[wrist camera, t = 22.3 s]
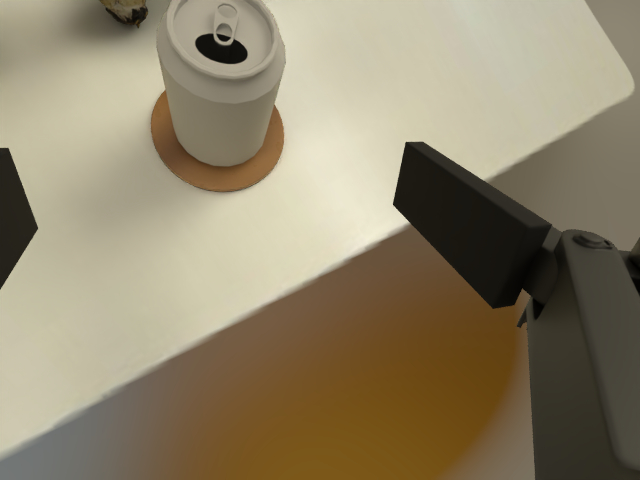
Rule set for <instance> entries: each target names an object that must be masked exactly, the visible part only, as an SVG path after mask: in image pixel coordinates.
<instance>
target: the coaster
mask: <svg viewBox="0 0 640 480" xmlns="http://www.w3.org/2000/svg"><path fill="white" fill-rule="evenodd" d="M151 133H152V138H153V142H154V145H155V147H156V150H157V152H158V154H159V156H160V158H161V159H162V161H163V162H164V163H165V165H166V166H167V167H168V168H169V169H170V170H171V171H172V172H173V173H174V174H175V175H177V176H178V177H179V178H181V179H182V180H184V181H185V182H187V183H189V184H191V185H193V186H196V187H199V188H202V189H206V190H210V191H219V192H226V191H236V190H240V189H244V188H247V187H249V186H252V185H254V184H256V183H257V182H259V181H261V180H262V179H263V178H264V177H266V176H267V175H268V174H269V173H270V172H271V171H272V169H273V168H274V166H275V165H276V163H277V161H278V159H279V158H280V155H281V152H282V149H283V143H284V128H283V123H282V119H281V117H280V114H279V112H278V110H277V108H276V106H275V105H274V107H273V110H272V114H271V117H270V121H269V125H268V128H267V132H266V135H265V139H264V142H263V145H262V147H261V148H260V149H259V150H258V152H257V153H256V154H255V156H253V157H252V158H250V159H249V160H247V161H245V162H244V163H241V164H237V165H233V166H229V167H228V166H213V165H210V164H207V163H204V162H201V161H199V160H198V159H196V158H195V157H193V156H192V155H190V154H189V153H187V151H186V150H185V149H184V147H183V146H182V145H181V144H180V142H179V141H178V139H177V136H176V133H175V130H174V127H173V123H172V118H171V113H170V108H169V103H168V99H167V94H166V90H165V91H164V92H163V93H162V94H161V96H160V97H159V99H158V100H157V102H156V105H155V107H154V110H153V113H152V119H151Z"/></svg>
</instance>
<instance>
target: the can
mask: <svg viewBox="0 0 640 480" xmlns="http://www.w3.org/2000/svg"><path fill="white" fill-rule="evenodd" d="M157 51H158V56H159V60H160V65H161V70H162V75H163V79H164V84H165V89H166V94H167V99H168V103H169V108H170V113H171V118H172V123H173V127H174V130H175V133H176V136H177V139H178V141H179V142H180V144H181V145H182V146H183V147H184V149H185V150H186V151H187V153H189V154H190V155H192V156H193V157H195V158H196V159H198V160H199V161H201V162H204V163H207V164H210V165H213V166H228V167H229V166H233V165H237V164H241V163H244V162H245V161H247V160H249V159H250V158H252V157H253V156H255V154H256V153H257V152H258V150H259V149H260V148H261V147H262V145H263V142H264V139H265V135H266V132H267V128H268V125H269V121H270V117H271V114H272V110H273V107H274V103H275V99H276V96H277V92H278V89H279V85H280V81H281V78H282V74H283V70H284V67H285V63H286V59H285V45H284V43H283V40H282V38H281V35H280V33H279V28H278V26H277V23H276V21H275V18H274V16H273V14H272V13H271V12H270V10H269V9H268V8H267V6H266V5H265V4H264V3H263V1H261V0H171V2H170V4H169V7H168V9H167V11H166V12H165V13H164V15H163V17H162V19H161V22H160V24H159V26H158V28H157Z"/></svg>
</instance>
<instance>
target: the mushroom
mask: <svg viewBox="0 0 640 480" xmlns="http://www.w3.org/2000/svg"><path fill="white" fill-rule="evenodd" d="M99 1H100V2H101V3H102V4H103V5H105V6H106V7H107V8H106V11H108V12H109V13H110V14H111V15H112V16H113V18H114V19H116V20H117V21H118V22H121V23H125V24H130V25H135V24H136V25H137V27H138V28H139V26H140V22H142V21H143V20H144V19H145V18H146V16H147V14H148V9H147V7H146V6H145V2H146V0H99Z"/></svg>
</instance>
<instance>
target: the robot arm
mask: <svg viewBox="0 0 640 480" xmlns="http://www.w3.org/2000/svg"><path fill="white" fill-rule="evenodd" d="M393 205H394V206H395V207H396V209H397V210H398V211H399V212H400V213H401V214H402V215H403V216H404V217H405V218H406V219H407V220H408V221H409V222H410V223H411V224H412V225H413V226H414V227H415V228H416V229H417V230H418V231H419V232H420V233H421V235H423V237H424V238H425V239H426V240H427V241H428V242H429V243H430V244H431V245H432V246H433V247H434V248H435V249H436V250H437V251H438V252H439V253H440V254H441V255H442V256H443V257H444V258H445V259H446V260H447V262H448V263H449V264H450V265H452V267H453V268H455V270H456V271H457V272H458V273H459V274H460V275H461V276H462V277H463V278H464V279H465V280H466V281H467V282H468V283H469V284H470V285H471V286H472V287H473V288H474V290H475V291H477V293H478V294H479V295H480V296H481V297H482V298H483V299H484V300H485V301H486V302H487V303H488V304H489V305H490V306H491V307H492V308H493V309H494V308H500V307H506V306H512V305H514V304H515V303H516V300H517V298H518V296H519V294H520V292H521V290H522V288H523V289H524V290H525V291H526V292H527V293H528V294H529V295H531V297H530V299H529V301H528V303H527V305H526V307H525V309H524V311H523V313H522V315H521V317H520V319H519V321H518V325H517V327H520V328H521V326H522V324H523V323H525V322H527V333H528V352H529V370H530V389H531V408H532V425H533V444H534V463H535V480H640V238H639V240H638V241H637V243H636V244H635V246H634V248H633V249H632V251H631V252H630V251H620V250H618V249H617V248H616V247H615V246H614V244H612V243H611V242H610V241H609V240H607V239H605V238H603V237H600V236H599V235H597V234H594V233H591V232H587V231H582V230H566V231H563V232H560V231H559V230H557V229H556V228H554V227H553V226H552V224H550V223H549V222H547V221H546V220H544V219H542V218H541V217H539V216H538V215H536V214H535V213H533V212H532V211H530V210H528V209H527V208H525V207H524V206H522V205H521V204H519V203H517V202H516V201H514V200H513V199H511V198H510V197H508V196H506V195H505V194H503V193H502V192H500V191H499V190H497V189H496V188H494V187H492V186H491V185H489V184H488V183H486V182H485V181H483V180H482V179H480V178H479V177H477V176H475V175H474V174H472V173H471V172H469V171H468V170H466V169H464V168H463V167H461V166H460V165H458V164H457V163H455V162H454V161H452V160H450V159H449V158H447V157H446V156H444V155H443V154H441V153H440V152H438V151H436V150H435V149H433V148H432V147H430V146H429V145H427V144H425V143H424V142H406V143H405V148H404V153H403V158H402V163H401V168H400V173H399V177H398V182H397V187H396V192H395V197H394V202H393ZM37 230H38V227H37V224H36V221H35V218H34V216H33V213H32V210H31V208H30V205H29V202H28V199H27V197H26V194H25V191H24V189H23V186H22V183H21V181H20V178H19V175H18V172H17V170H16V167H15V164H14V162H13V159H12V156H11V153H10V151H9V148H0V289H1V287H2V286H3V284H4V283H5V281H6V279H7V278H8V276H9V275H10V273H11V271H12V270H13V268H14V267H15V265H16V263H17V262H18V260H19V259H20V257H21V255H22V254H23V252H24V250H25V249H26V247H27V246H28V244H29V242H30V241H31V239H32V238H33V236H34V234H35V233H36V231H37Z"/></svg>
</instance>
